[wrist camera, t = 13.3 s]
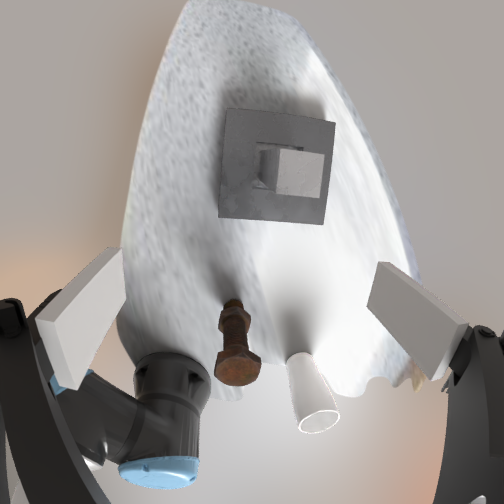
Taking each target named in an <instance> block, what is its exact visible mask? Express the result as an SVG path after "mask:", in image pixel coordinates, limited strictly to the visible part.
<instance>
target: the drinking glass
mask: <svg viewBox="0 0 504 504" xmlns="http://www.w3.org/2000/svg"><path fill="white" fill-rule="evenodd" d="M286 368H287V372H288V378H289V384H290V391H291V398H292V405H293V410H294V415H295V419H296V422H297V425H298V428H299V430H300V431H302V432H304V433H318V432H322V431H325V430H327V429H329V428H330V427H332V426H333V425H335V424H336V423H337V422H338V420H339V418H340V414H339V411H338V408H337V405H336V402H335V400H334V398H333V395H332V393H331V391H330V390H329V388H328V386H327V384H326V382H325V381H324V379H323V377H322V375H321V373H320V371H319V369H318V368H317V366H316V364H315V361H314V359H313V357H312V356H311V355H310V354H308V353H304V352H301V353H296V354H294V355H292V356H291V357H290V358H289V359H288V360H287V363H286Z"/></svg>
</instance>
